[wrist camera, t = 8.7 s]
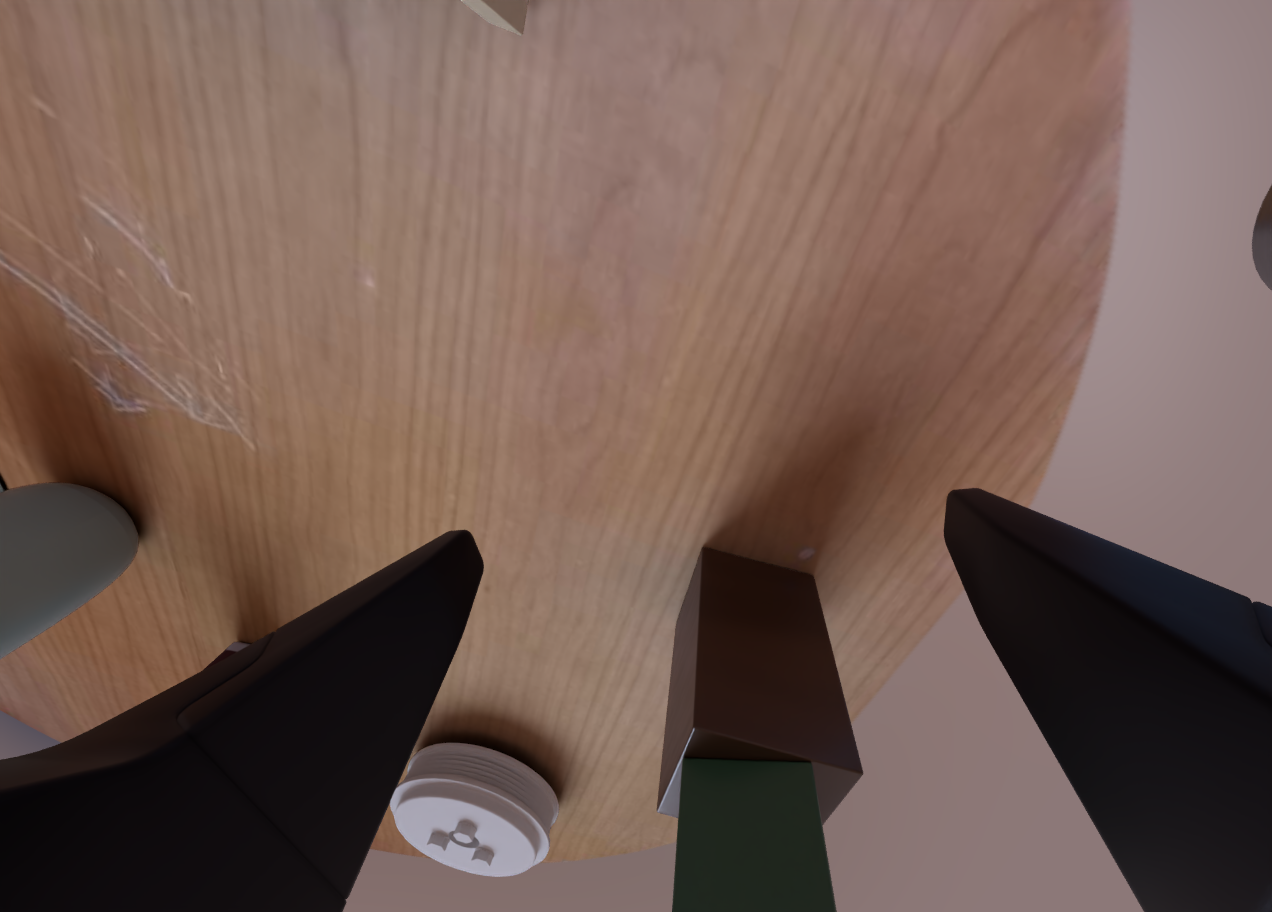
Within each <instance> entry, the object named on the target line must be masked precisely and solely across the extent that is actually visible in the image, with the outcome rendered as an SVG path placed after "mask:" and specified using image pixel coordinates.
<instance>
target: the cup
mask: <svg viewBox="0 0 1272 912" xmlns="http://www.w3.org/2000/svg"><path fill="white" fill-rule="evenodd" d="M138 546H139V537H138V532H137V529H136V526H135V524H134V522H133V521H132V519H131V517H130V516H129V514H128V513H127V512H126V511H125V510H124V509H123V508H122V507H121V505H119V504H118V503H117V502H116V501H114V500H113V499H111V498H110V497H108V496H106V495H105V494H103V493H101V492H99V491H96V490H94V489H91V488H88V487H85V486H81V485H77V484H71V483H61V482H48V483H37V484H31V485H24V486H20V487H16V488H11V489H7V490H3V491H0V659H2V658H3V657H5V656H6V655H8V654H10V653H11V652H13V651H14V650H16V649H17V648H19V647H21V646H22V645H24V644H25V643H27V642H28V641H30V640H32V639H33V638H35V637H36V636H38V635H39V634H41V633H42V632H44V631H46V630H47V629H49V628H50V627H52V626H53V625H55V624H56V623H58V622H59V621H61V620H62V619H64V618H65V617H67V616H68V615H70V614H71V613H73V612H74V611H76V610H77V609H78V608H80V607H81V606H83V605H84V604H86V603H87V602H88V601H90V600H91V599H92V598H94V597H95V596H97V595H98V594H99V593H100V592H102V591H103V590H104V589H105V588H107V587H108V586H109V585H110V584H111V583H113V582H114V581H115V580H116V579H117V578H118V577H119V576H120V575H121V574H122V573H123V572H124V571H125V570H126V569H127V568H128V567H129V566H130V564H131V563H132V561H133V560H134V558H135V556H136V553H137V550H138Z"/></svg>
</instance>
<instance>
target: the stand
mask: <svg viewBox="0 0 1272 912" xmlns="http://www.w3.org/2000/svg"><path fill="white" fill-rule="evenodd" d="M683 758H699V759H728V760H758V761H788V762H810V763H811V764H812V766H813V772H814V778H815V784H816V790H817V796H818V802H819V808H820V814H821V820H822V825H823V824H824V823H825V822H826V820H827V819H828V818H829V816H830V815H831V814H832V812H834V810H835V809H836V808H837V807H838V805H839V804H840V803H841V802H842V800H843V799H844V798H845V797H846V795H847V794H848V793H849V791H850V790H851V789H852V788H853V786H854V785H855V784H856V783H857V781H858V780H859V779H860V778H861V776H862V775H863V770H862V766H861V762H860V758H859V754H858V750H857V746H856V742H855V738H854V735H853V730H852V726H851V722H850V718H849V714H848V710H847V706H846V702H845V698H844V694H843V690H842V686H841V682H840V678H839V675H838V671H837V667H836V663H835V659H834V655H833V651H832V647H831V643H830V639H829V635H828V631H827V627H826V623H825V619H824V615H823V611H822V607H821V603H820V599H819V595H818V591H817V587H816V583H815V579H814V576H813V575H810V574H806V573H802V572H798V571H794V570H790V569H786V568H782V567H778V566H774V565H771V564H767V563H763V562H759V561H755V560H751V559H747V558H743V557H739V556H736V555H732V554H728V553H724V552H720V551H716V550H712V549H708V548H704V547H703V548H702V549H701V552H700V555H699V558H698V561H697V564H696V567H695V570H694V573H693V576H692V579H691V581H690V584H689V587H688V590H687V593H686V596H685V599H684V602H683V605H682V608H681V611H680V614H679V617H678V620H677V622H676V628H675V638H674V648H673V657H672V667H671V677H670V686H669V696H668V706H667V715H666V725H665V734H664V744H663V754H662V763H661V773H660V783H659V792H658V802H657V812H658V813H661V814H665V815H669V816H672V817H676V818H678V816H679V801H680V786H681V771H682V760H683Z"/></svg>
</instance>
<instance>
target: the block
mask: <svg viewBox="0 0 1272 912" xmlns="http://www.w3.org/2000/svg"><path fill="white" fill-rule="evenodd" d="M672 912H837V911H836V905H835V900H834V893H833V887H832V881H831V875H830V870H829V863H828V857H827V851H826V845H825V839H824V833H823V827H822V820H821V814H820V808H819V802H818V796H817V790H816V784H815V778H814V772H813V766H812V764H811V763H810V762H788V761H758V760H728V759H699V758H683V760H682V771H681V786H680V801H679V816H678V831H677V845H676V862H675V876H674V891H673V905H672Z"/></svg>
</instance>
